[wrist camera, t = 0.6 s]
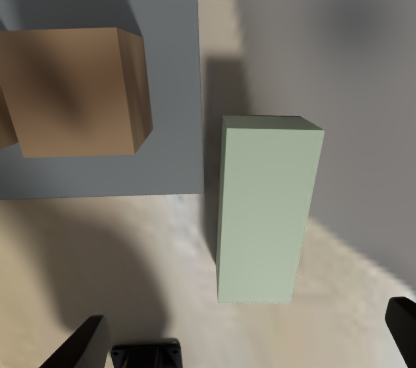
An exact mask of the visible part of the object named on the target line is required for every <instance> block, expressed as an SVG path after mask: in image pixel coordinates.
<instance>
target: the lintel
mask: <svg viewBox="0 0 416 368" xmlns="http://www.w3.org/2000/svg"><path fill="white" fill-rule="evenodd" d="M324 132H325V130H323V129H322V128H320V127H318V126H316V125H315V124H313V123H311V122H309V121H308V120H306V119H304V118H302V117H301V116H271V115H253V116H236V115H223V116H222V139H221V162H220V184H219V207H218V230H217V252H216V277H217V295H218V303H291V298H292V293H293V288H294V283H295V278H296V273H297V268H298V263H299V258H300V253H301V248H302V243H303V238H304V233H305V228H306V223H307V218H308V213H309V207H310V203H311V197H312V193H313V188H314V183H315V177H316V172H317V167H318V162H319V157H320V152H321V147H322V142H323V137H324Z"/></svg>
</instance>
